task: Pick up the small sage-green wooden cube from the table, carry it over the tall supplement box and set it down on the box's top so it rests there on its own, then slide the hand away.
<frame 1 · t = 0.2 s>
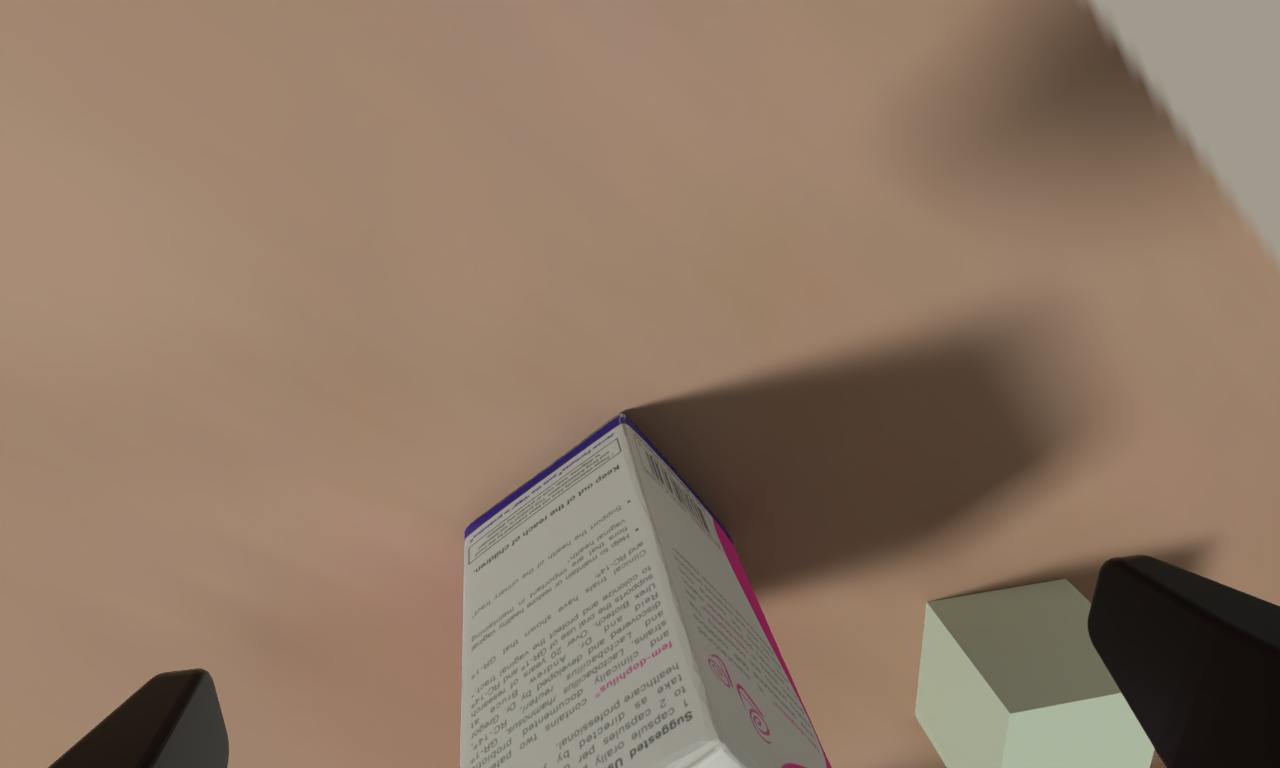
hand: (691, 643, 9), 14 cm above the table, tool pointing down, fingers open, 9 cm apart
sage cube: (987, 646, 30), on the table
supplement box: (599, 531, 25), on the table
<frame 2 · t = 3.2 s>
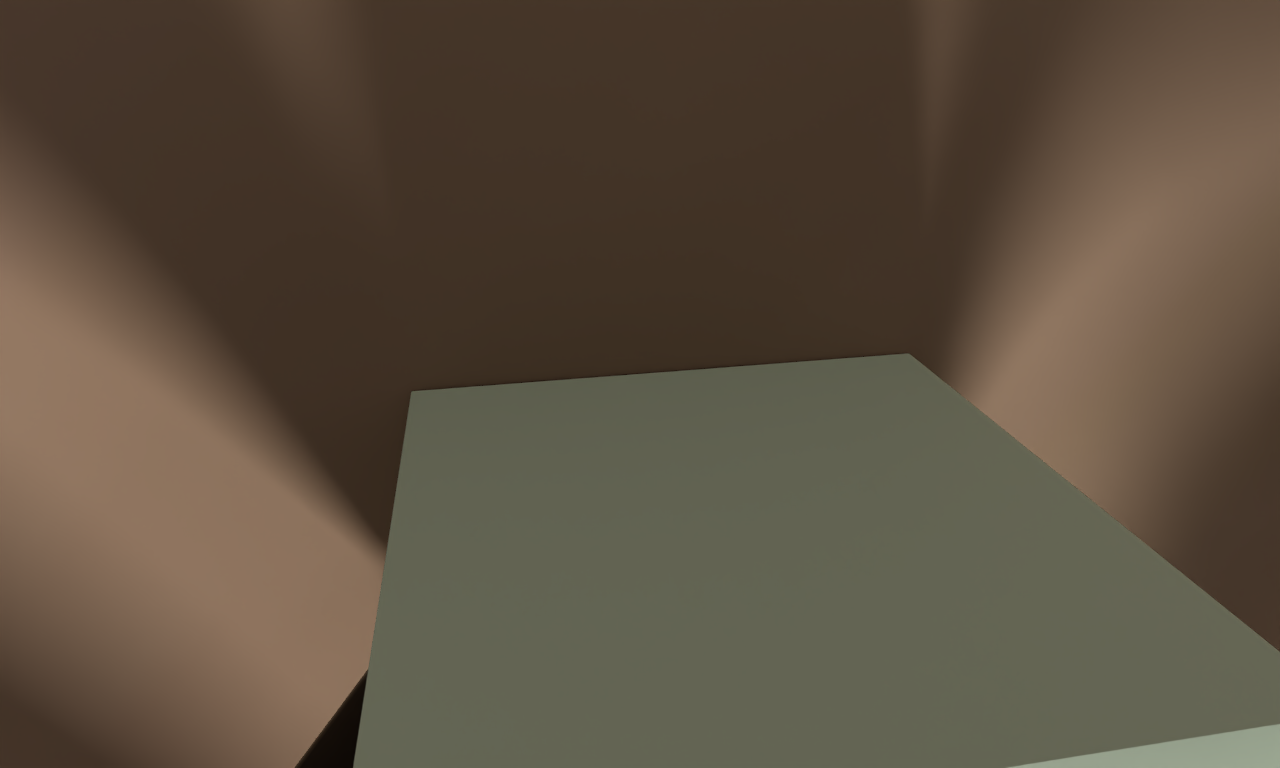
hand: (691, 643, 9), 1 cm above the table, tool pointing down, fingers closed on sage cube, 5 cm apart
sage cube: (669, 580, 10), on the table, touching gripper
when the fingers open (13 cm above the table, at t = 8.8 s): sage cube stays where it is, resting on supplement box.
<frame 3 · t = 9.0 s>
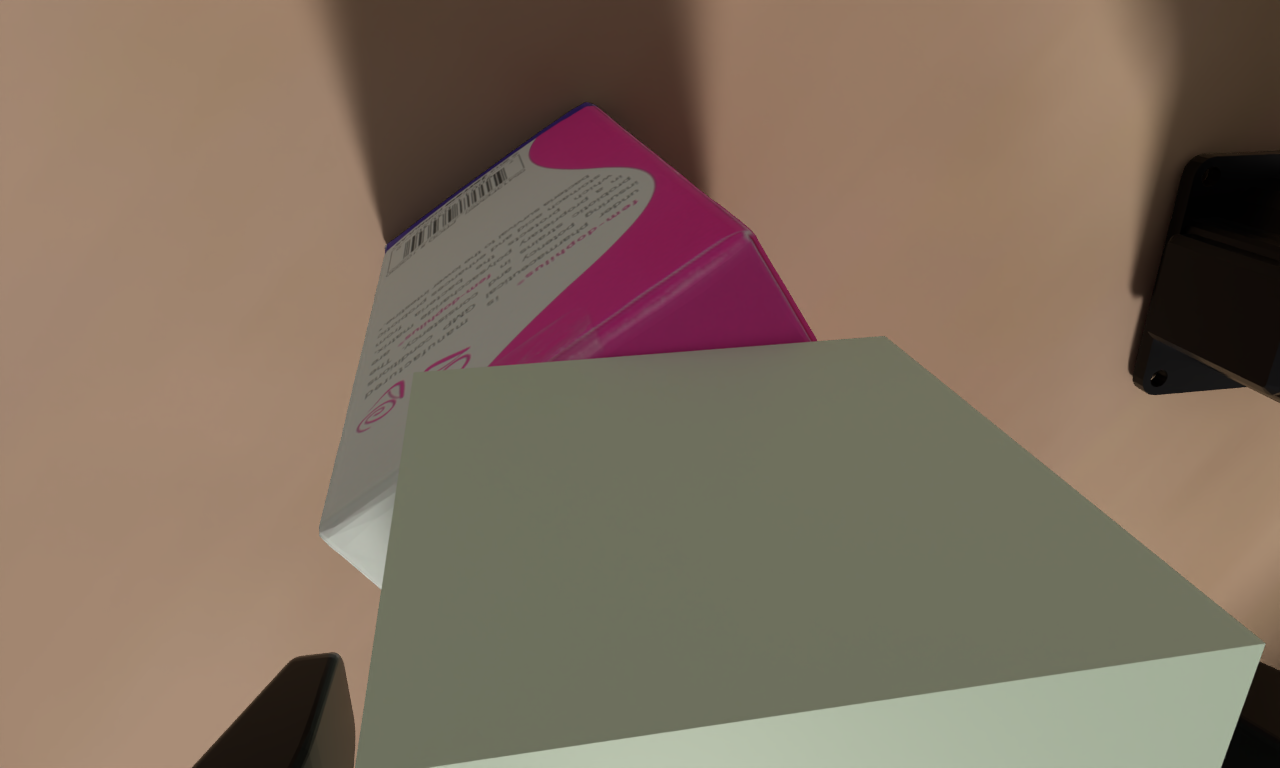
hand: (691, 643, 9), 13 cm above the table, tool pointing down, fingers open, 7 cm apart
sage cube: (659, 553, 10), point 11 cm above the table, touching supplement box
supplement box: (561, 271, 21), on the table, touching sage cube
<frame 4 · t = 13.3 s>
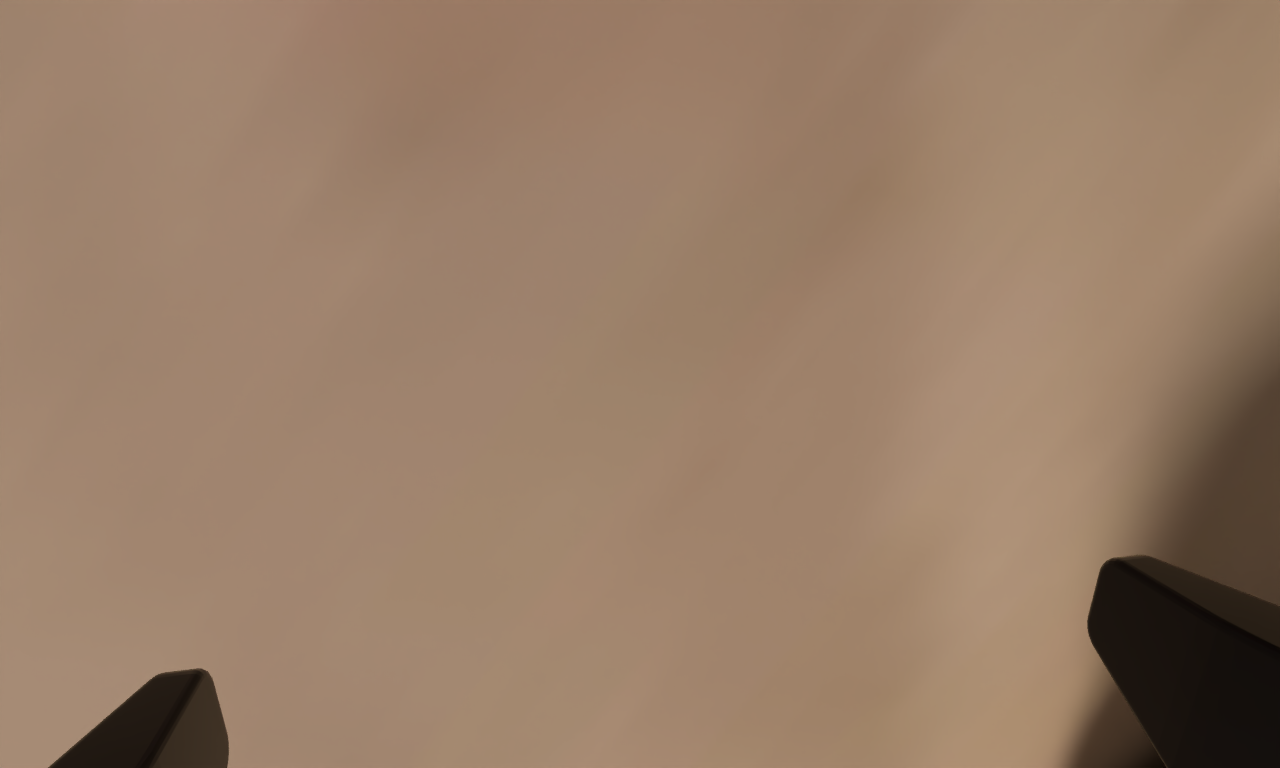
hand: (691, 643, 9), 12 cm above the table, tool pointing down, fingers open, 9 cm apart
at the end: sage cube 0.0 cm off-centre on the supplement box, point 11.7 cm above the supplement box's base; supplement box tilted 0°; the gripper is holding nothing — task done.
